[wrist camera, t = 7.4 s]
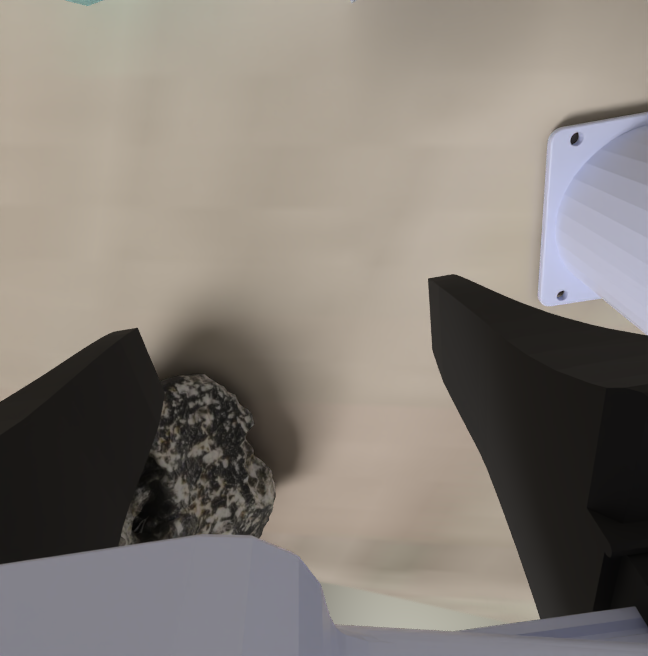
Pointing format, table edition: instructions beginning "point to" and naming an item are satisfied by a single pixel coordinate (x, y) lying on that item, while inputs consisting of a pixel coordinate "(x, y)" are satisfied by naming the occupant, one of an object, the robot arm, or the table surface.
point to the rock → (200, 469)
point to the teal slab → (85, 1)
